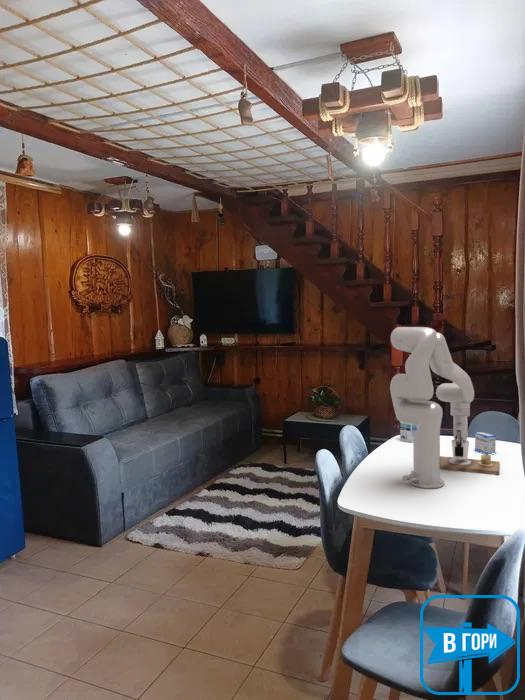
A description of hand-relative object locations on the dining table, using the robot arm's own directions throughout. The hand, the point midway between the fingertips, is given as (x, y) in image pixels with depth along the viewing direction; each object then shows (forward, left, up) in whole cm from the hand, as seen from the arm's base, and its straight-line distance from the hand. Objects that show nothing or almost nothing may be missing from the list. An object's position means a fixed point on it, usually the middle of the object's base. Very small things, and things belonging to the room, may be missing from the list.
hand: (459, 453), depth 219 cm
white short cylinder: (0, 0, -2) cm, 2 cm away
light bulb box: (+8, +45, -6) cm, 46 cm away
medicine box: (+24, +12, -6) cm, 28 cm away
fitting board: (+2, -2, -5) cm, 6 cm away
